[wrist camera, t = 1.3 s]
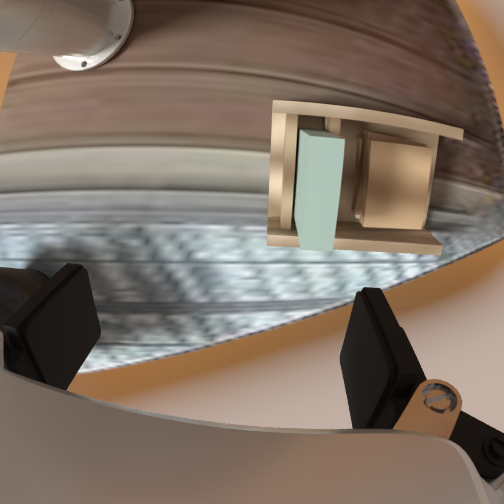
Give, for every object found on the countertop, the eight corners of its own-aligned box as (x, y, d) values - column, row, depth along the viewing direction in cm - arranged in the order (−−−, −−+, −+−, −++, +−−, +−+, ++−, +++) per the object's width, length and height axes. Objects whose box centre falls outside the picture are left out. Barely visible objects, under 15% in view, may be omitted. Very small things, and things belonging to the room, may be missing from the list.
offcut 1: (363, 130, 31) (368, 131, 29) (420, 142, 31) (426, 144, 29) (351, 209, 35) (354, 214, 33) (405, 217, 35) (411, 222, 33)
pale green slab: (296, 127, 33) (310, 135, 22) (320, 129, 33) (345, 139, 22) (292, 205, 37) (300, 249, 26) (314, 207, 36) (332, 251, 26)
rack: (272, 102, 33) (273, 100, 27) (434, 124, 32) (463, 129, 26) (267, 222, 39) (266, 245, 33) (417, 232, 38) (440, 255, 32)
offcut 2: (366, 139, 30) (371, 140, 28) (425, 146, 29) (432, 148, 28) (359, 221, 34) (363, 227, 32) (415, 224, 33) (421, 229, 32)
